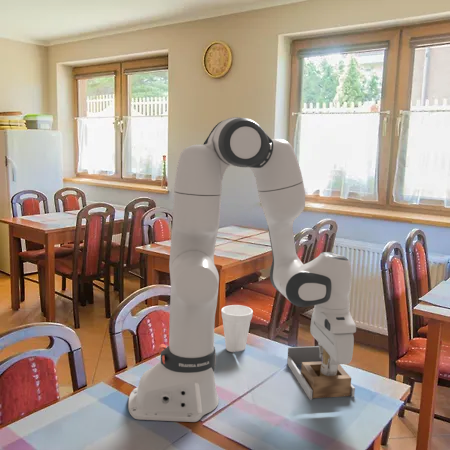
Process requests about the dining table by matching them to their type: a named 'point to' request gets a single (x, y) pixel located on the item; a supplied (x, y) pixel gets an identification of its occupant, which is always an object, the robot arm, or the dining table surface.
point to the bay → (305, 355)
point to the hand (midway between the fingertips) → (327, 364)
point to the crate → (326, 381)
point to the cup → (236, 326)
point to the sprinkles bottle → (326, 365)
